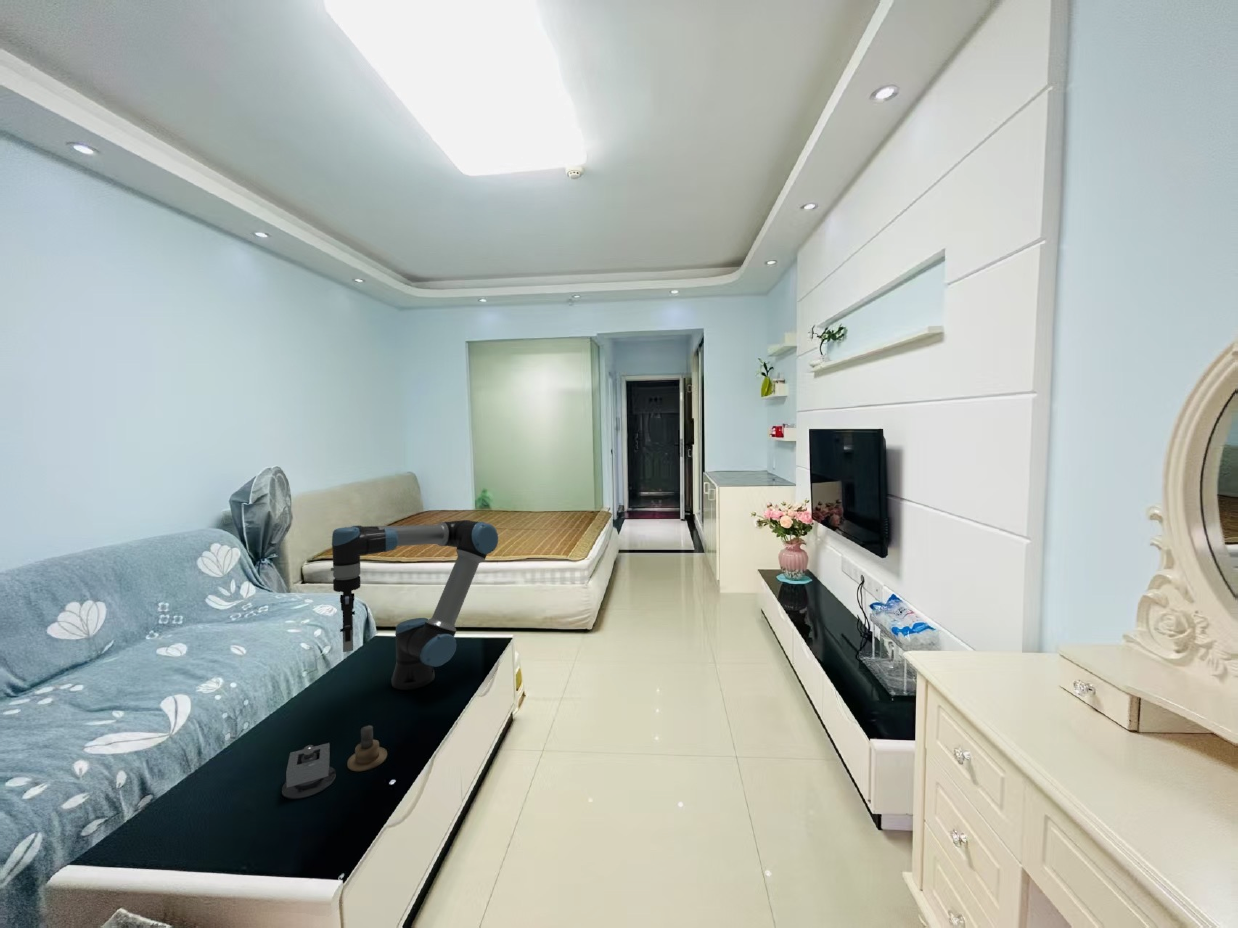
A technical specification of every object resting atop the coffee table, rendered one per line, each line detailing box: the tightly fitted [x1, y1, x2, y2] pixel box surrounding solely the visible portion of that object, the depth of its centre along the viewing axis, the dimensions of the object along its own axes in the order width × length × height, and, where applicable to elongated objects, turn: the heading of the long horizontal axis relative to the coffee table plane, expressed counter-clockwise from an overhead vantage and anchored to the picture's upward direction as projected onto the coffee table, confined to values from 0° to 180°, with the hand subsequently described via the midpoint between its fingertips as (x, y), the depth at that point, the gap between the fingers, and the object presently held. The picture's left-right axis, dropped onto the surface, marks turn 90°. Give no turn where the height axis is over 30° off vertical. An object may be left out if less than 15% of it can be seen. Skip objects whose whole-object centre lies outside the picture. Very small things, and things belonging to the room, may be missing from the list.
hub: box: [281, 744, 337, 800], centre depth 128 cm, size 12×12×10 cm
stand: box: [346, 725, 388, 772], centre depth 138 cm, size 10×10×9 cm
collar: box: [285, 742, 331, 788], centre depth 128 cm, size 9×9×4 cm
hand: (348, 643), depth 154 cm, fingers open, 13 cm apart
